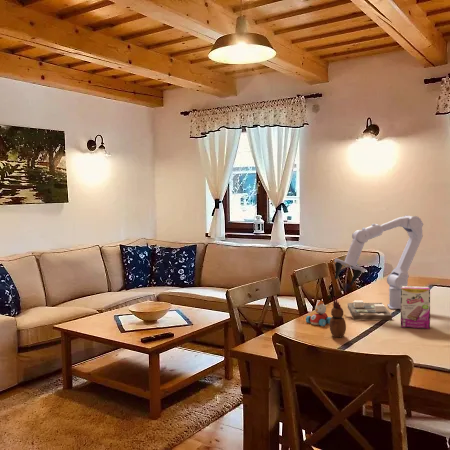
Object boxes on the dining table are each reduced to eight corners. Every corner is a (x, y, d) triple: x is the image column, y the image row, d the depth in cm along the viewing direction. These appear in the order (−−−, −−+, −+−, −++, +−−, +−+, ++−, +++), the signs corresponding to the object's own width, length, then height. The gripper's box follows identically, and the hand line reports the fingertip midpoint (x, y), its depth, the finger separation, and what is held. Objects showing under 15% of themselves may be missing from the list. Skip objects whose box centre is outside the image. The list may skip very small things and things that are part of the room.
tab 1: (362, 305, 227) (362, 300, 227) (363, 307, 223) (363, 302, 223) (353, 305, 228) (353, 300, 228) (354, 307, 224) (354, 302, 224)
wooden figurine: (328, 334, 192) (327, 296, 191) (342, 333, 193) (341, 295, 192) (333, 339, 185) (332, 300, 184) (348, 338, 186) (347, 299, 185)
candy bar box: (400, 328, 197) (400, 287, 196) (400, 324, 202) (400, 285, 201) (430, 329, 193) (430, 288, 192) (429, 326, 198) (429, 286, 197)
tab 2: (383, 309, 218) (383, 304, 218) (384, 311, 214) (384, 306, 214) (374, 309, 219) (373, 304, 219) (375, 311, 215) (375, 306, 215)
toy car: (304, 323, 210) (303, 300, 209) (318, 319, 215) (317, 297, 214) (320, 327, 203) (320, 303, 202) (334, 323, 208) (333, 300, 207)
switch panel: (381, 306, 233) (381, 302, 233) (392, 319, 209) (391, 314, 209) (347, 307, 235) (347, 302, 235) (353, 319, 212) (353, 314, 211)
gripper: (337, 248, 227) (326, 275, 228) (367, 259, 221) (356, 287, 221) (340, 249, 234) (330, 276, 234) (369, 260, 227) (359, 287, 227)
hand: (343, 281), depth 228 cm, fingers open, 7 cm apart
